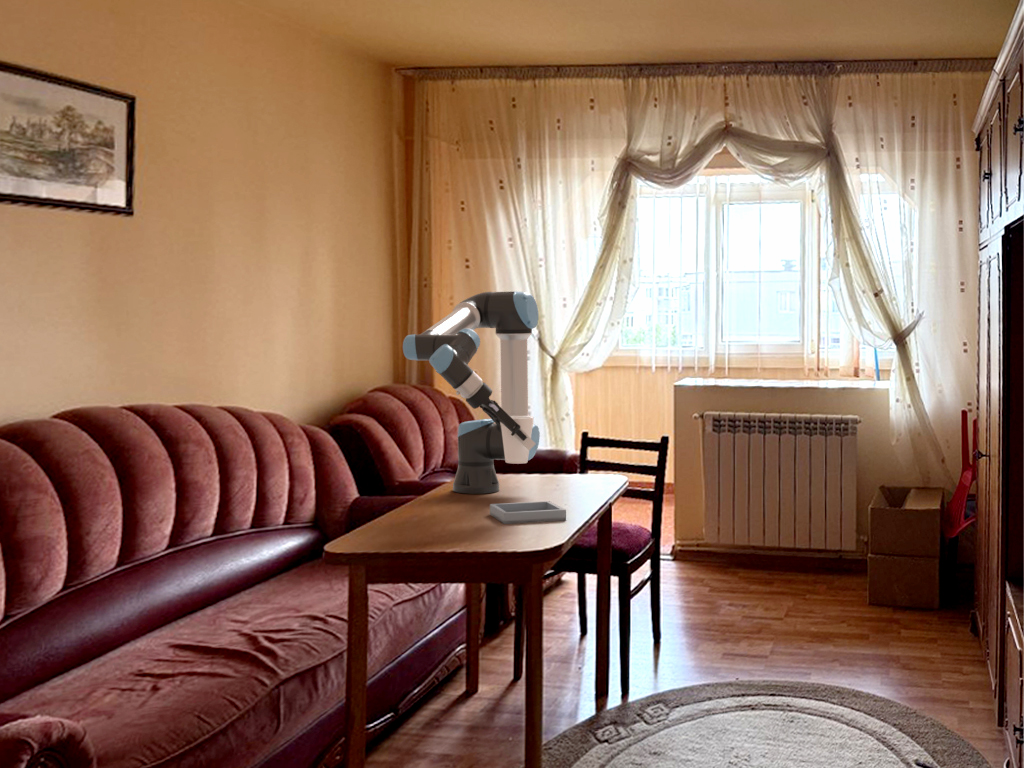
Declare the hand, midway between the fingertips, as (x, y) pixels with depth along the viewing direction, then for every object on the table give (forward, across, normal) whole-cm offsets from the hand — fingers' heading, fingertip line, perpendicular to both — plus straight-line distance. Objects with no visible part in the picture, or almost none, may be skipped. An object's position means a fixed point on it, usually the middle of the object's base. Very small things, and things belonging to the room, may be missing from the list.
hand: (527, 445), depth 327 cm
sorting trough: (+13, +5, -15) cm, 21 cm away
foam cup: (+1, 0, -6) cm, 6 cm away
